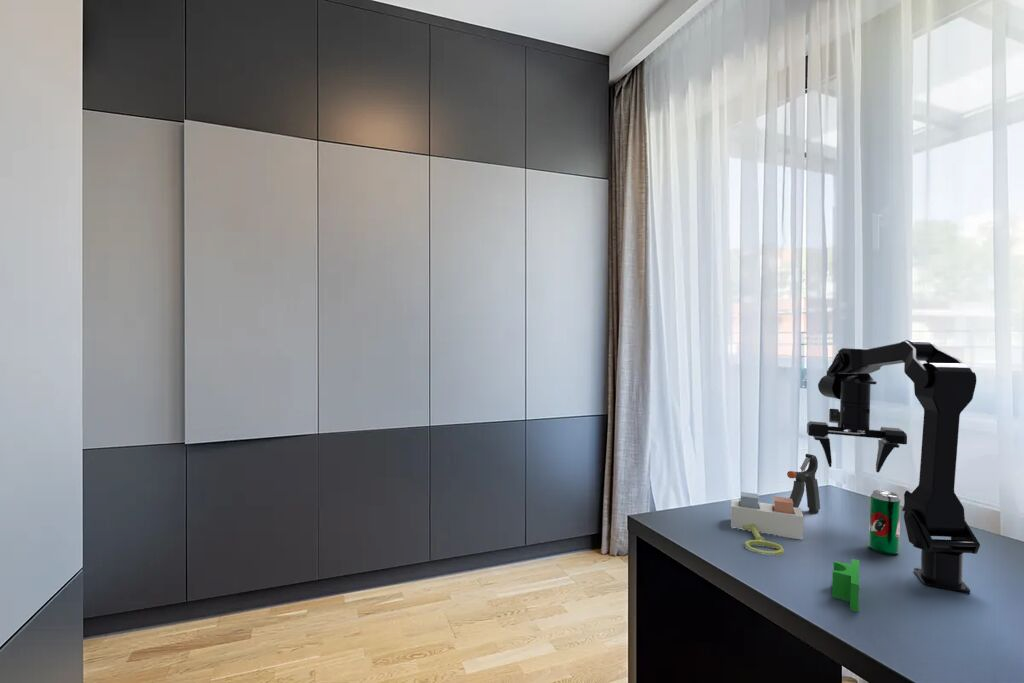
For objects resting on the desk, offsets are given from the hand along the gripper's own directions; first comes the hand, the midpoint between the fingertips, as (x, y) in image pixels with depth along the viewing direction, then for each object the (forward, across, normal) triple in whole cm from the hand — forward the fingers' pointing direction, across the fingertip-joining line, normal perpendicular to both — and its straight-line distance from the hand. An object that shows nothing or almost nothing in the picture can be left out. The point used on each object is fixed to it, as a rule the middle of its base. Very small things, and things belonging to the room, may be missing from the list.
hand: (853, 469), depth 117 cm
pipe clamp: (+14, +6, +37) cm, 40 cm away
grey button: (+11, +22, +11) cm, 27 cm away
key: (+14, +19, +20) cm, 32 cm away
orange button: (+11, +15, +11) cm, 21 cm away
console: (+14, +18, +11) cm, 25 cm away
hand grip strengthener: (+14, +10, -4) cm, 18 cm away
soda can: (+14, -4, +12) cm, 19 cm away
